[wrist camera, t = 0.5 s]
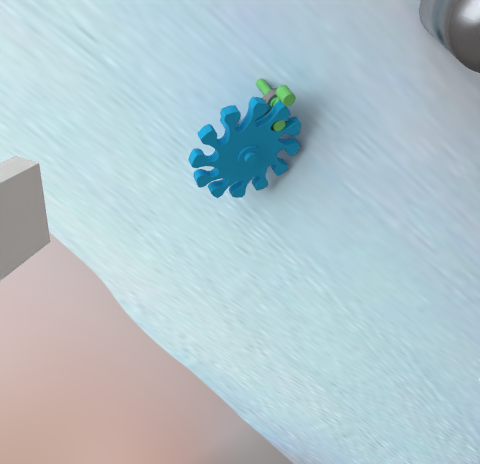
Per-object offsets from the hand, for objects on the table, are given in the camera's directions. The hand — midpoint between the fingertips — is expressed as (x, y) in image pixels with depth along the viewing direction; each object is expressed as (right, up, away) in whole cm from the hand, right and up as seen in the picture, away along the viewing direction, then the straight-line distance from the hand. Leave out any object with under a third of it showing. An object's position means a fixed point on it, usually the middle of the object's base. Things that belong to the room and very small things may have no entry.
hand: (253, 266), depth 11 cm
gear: (+2, +10, +27) cm, 28 cm away
